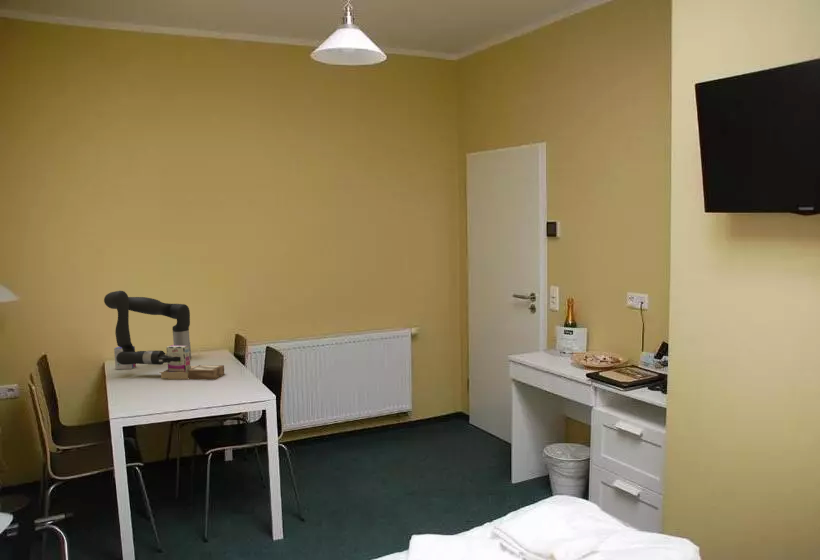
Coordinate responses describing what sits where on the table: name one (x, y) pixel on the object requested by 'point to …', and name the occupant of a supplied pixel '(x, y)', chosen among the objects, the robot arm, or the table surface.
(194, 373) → the stand
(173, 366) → the candy bar box
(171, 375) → the light wooden frame
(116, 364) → the ink cartridge box
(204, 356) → the table surface
